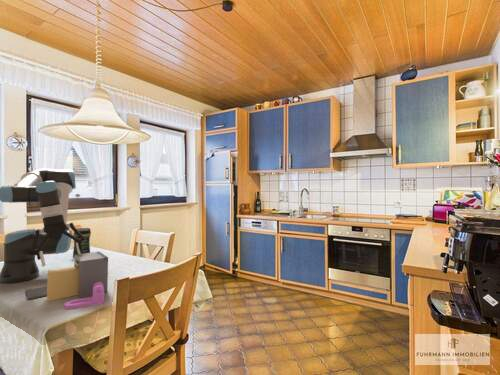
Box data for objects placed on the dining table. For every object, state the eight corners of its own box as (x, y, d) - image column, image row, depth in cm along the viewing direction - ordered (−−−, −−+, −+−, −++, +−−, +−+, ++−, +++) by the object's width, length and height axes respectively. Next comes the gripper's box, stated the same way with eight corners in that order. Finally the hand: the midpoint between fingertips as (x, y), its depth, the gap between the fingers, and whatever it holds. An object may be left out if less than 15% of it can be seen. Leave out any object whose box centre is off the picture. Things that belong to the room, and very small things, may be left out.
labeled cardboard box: (47, 298, 109) (47, 270, 109) (91, 288, 120) (92, 264, 120) (48, 301, 106) (48, 273, 106) (93, 291, 117) (94, 266, 117)
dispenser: (72, 288, 119) (72, 254, 119) (98, 283, 126) (99, 251, 126) (78, 298, 109) (79, 261, 109) (107, 292, 116) (108, 257, 116)
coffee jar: (72, 258, 169) (72, 229, 169) (73, 255, 176) (74, 227, 176) (90, 257, 174) (90, 228, 174) (90, 254, 181) (91, 226, 181)
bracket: (103, 298, 110) (103, 281, 110) (103, 303, 105) (104, 285, 105) (64, 305, 103) (65, 286, 103) (63, 310, 98) (63, 291, 98)
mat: (25, 291, 115) (25, 290, 115) (74, 282, 127) (74, 280, 127) (27, 300, 106) (27, 298, 106) (80, 289, 118) (80, 287, 118)
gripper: (14, 222, 111) (25, 272, 112) (84, 209, 123) (93, 254, 124) (19, 221, 117) (29, 268, 119) (85, 209, 130) (93, 251, 131)
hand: (62, 261), depth 122 cm, fingers open, 13 cm apart
